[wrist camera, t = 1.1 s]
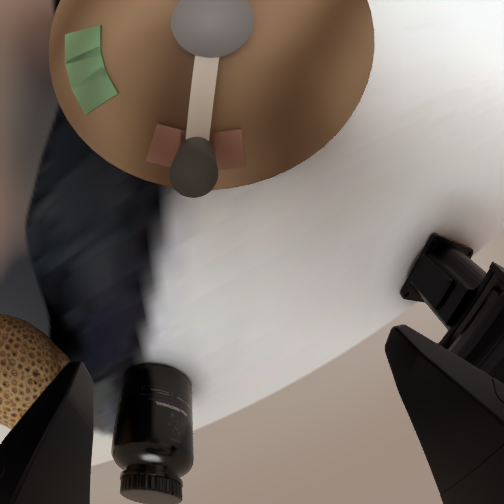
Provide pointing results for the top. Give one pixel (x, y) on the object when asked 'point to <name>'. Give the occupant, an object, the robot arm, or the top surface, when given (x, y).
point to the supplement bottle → (153, 434)
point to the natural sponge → (24, 367)
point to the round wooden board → (226, 90)
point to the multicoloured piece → (204, 82)
